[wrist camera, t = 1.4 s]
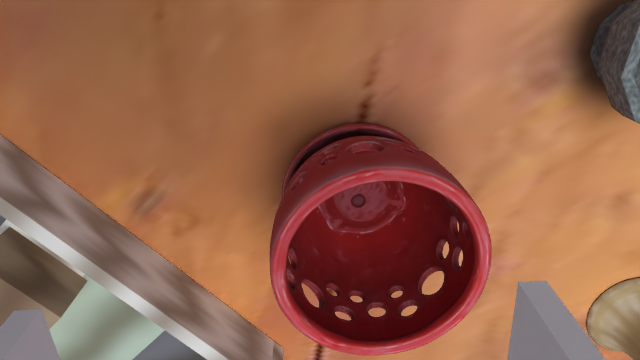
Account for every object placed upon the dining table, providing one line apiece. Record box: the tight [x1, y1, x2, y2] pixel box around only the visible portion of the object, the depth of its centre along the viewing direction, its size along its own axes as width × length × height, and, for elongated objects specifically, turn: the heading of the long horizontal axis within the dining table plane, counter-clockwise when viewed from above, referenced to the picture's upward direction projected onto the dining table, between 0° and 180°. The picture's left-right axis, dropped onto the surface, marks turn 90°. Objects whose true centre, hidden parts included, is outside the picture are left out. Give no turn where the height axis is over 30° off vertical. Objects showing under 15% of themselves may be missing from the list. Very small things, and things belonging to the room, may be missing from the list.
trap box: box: [0, 135, 283, 360], centre depth 39 cm, size 36×15×6 cm, turn 44°
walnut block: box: [0, 227, 88, 329], centre depth 36 cm, size 7×7×4 cm
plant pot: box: [270, 123, 492, 355], centre depth 33 cm, size 13×13×12 cm
